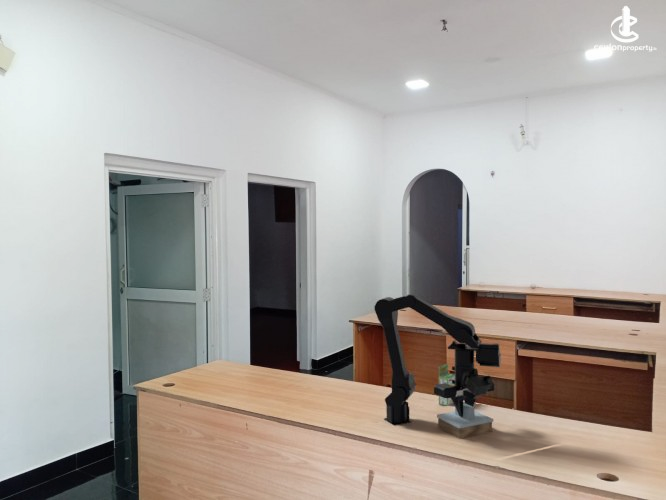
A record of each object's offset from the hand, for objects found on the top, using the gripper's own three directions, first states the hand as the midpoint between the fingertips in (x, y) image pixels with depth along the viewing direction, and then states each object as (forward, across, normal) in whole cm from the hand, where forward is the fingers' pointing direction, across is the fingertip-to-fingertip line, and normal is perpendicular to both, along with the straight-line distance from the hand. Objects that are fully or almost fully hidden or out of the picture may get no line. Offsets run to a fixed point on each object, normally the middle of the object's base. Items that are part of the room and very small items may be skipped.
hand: (464, 416), depth 155 cm
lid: (+1, 0, 0) cm, 1 cm away
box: (+4, 0, 0) cm, 4 cm away
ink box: (+5, +12, +24) cm, 27 cm away
